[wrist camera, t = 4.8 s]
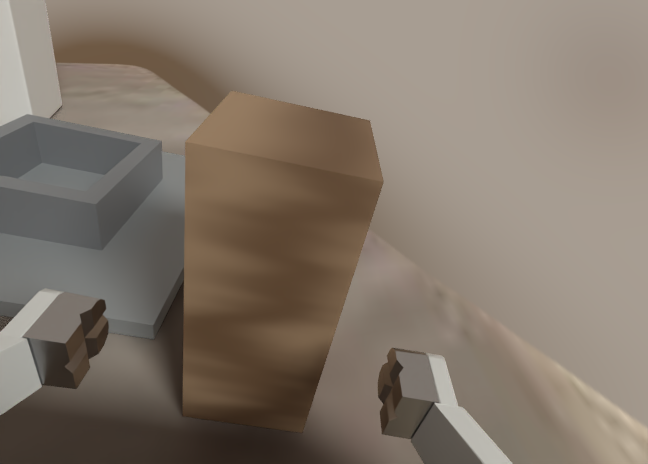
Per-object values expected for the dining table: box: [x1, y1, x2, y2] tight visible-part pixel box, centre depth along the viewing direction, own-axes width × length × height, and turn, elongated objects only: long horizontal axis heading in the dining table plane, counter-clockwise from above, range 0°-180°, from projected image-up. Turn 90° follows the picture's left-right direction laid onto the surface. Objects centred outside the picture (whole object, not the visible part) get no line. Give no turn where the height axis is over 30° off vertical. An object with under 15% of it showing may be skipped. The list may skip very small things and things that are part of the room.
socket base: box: [0, 114, 185, 339], centre depth 24 cm, size 18×18×4 cm
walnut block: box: [183, 91, 383, 433], centre depth 15 cm, size 5×5×12 cm
